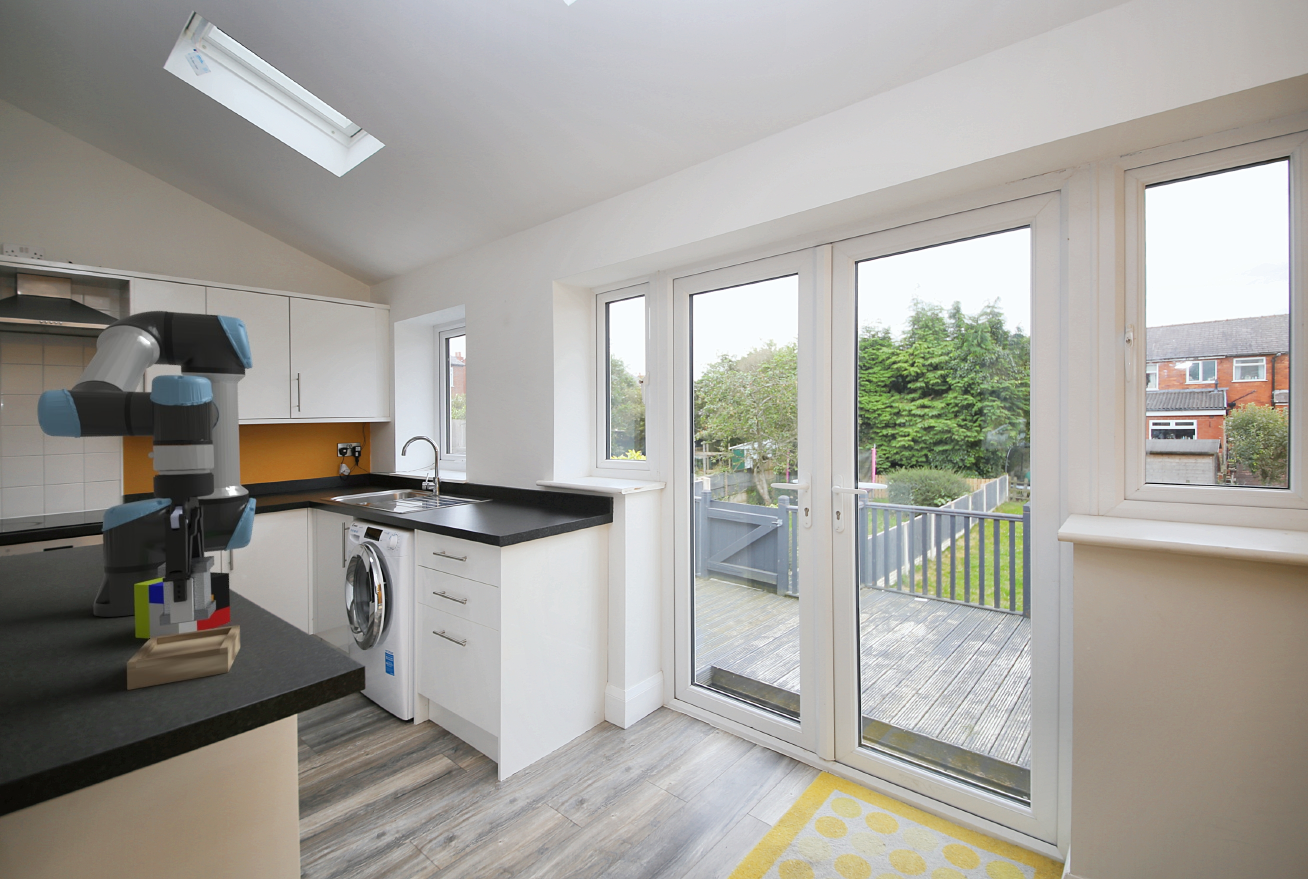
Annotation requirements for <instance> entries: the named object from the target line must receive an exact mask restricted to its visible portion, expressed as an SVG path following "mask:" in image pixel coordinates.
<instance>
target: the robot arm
mask: <svg viewBox="0 0 1308 879" xmlns="http://www.w3.org/2000/svg"><path fill="white" fill-rule="evenodd" d="M248 336H249V335H248V331H247V328H246V324H245V322H243V320H241V318H238V317H232V316H227V315H220V314H206V313H205V314H204V313H190V312H174V311H167V310H166V311H165V310H153V311H152V310H151V311H142V312H139V313H135V314H131V315H128V316H126V317H123V318H121V319H118V320H116V321H114V322H112V323H111V324H109V325H107V326H106V327H105V328H104V329H103V330H102V331H101V333H100V334H99V335H98V338H97V340H96V353H95V354H94V356H93V357H92V359H91V360H90V361H89V363H88V365H87V366H86V368H85V369H84V370H83V372H82V374H81V375H80V377H79V378H78V380H77V381H76V382H75V384H74V385H73V387H72V388H71V389H68V388H62V389H49V390H46V391H43V392H42V393H41V394H40V396H39V398H38V400H37V401H38V402H37V411H36V412H37V413H36V414H37V419H38V424H39V427H40V429H41V430H42V431H43V432H44V434H46V435H47V436H50V437H64V438H65V437H67V438H68V437H69V438H75V439H77V438H78V439H80V438H96V437H98V438H99V437H102V438H103V437H152V451H151V452H148V455H147V456H148V458H150V459H153V461H152V462H153V463H152V464H153V465H152V466H153V468H152V469H153V471H155V472H158V474H155V475H154V476H153V478H152V479H153V482H152V483H153V488H152V489H153V497H155V498H150V499H143V500H139V501H133V502H126V503H122V504H118V505H113V506H111V507H109V508H107V509H106V510H105V511H104V513H103V517H102V522H103V523H102V528H101V532H102V541H103V542H102V544H103V546H102V547H103V574H104V575H103V578H102V581H101V583H100V586H99V588H98V592H97V593H96V597H95V599H94V601H93V615H94V616H95V617H96V616H97V617H101V618H102V617H103V618H105V617H108V618H109V617H111V618H112V617H113V618H115V617H125V616H135V597H134V584H138V583H142V582H146V581H150V580H154V579H158V578H162V577H158V567H160V566H161V565H162V564H164V563H165V562H166V574H165V578H162V580H163V582H170V619H171V623H178V622H186V621H193V620H194V603H193V578H190V577H191V558H197V557H205V553H211V552H222V551H224V552H227V551H230V550H231V551H232V550H237V549H243V548H246V547H247V546H249V544H250V543H251V540H252V534H253V529H254V520H255V514H256V505H257V499H256V498H253V497H249V496H250V494H249V490H248V489H246V488H245V487H244V486H242V484H241V460H240V459H241V458H240V453H241V452H240V430H239V429H240V427H239V425H240V424H239V392H238V391H239V390H238V389H239V388H238V384H239V382H241V381H242V380H243V379H244V378H245V377H246V370H248V369H249V370H250V369H252V368H253V366H254V365H253V359H252V352H251V346H250V342H249V337H248ZM154 365H160V366H161V365H163V366H167V365H168V366H180V373H181V374H180V375H179V374H163V375H162V374H161V375H156V376H154V377H153V379H152V380H151V391H137V389H138V387H139V385H140V383H141V380H142V379H143V376H144V374H145V372H146V370H147V369H148V368H150V367H152V366H154ZM177 570H181V571H177Z"/></svg>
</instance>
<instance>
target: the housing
mask: <svg viewBox="0 0 1308 879" xmlns="http://www.w3.org/2000/svg"><path fill="white" fill-rule="evenodd" d="M213 566H215V555H208V556H204V557H197V558H191V577H190V578H193V603H194V620H193V621H198V620H205V619H209V618H210V616H211V615H212V614H213V612H214V611H215V610H216V600H213V601H211V578H210V572H211V569H212V568H213ZM177 571H181V570H177ZM165 574H166V562H165V563H164V564H162V565H161V566H160V567H158V577H163V578H165ZM163 587H164V612H163V613H162V614H161V615H160V616H159V619H160V626H163V625H170V624H177V623H171V619H170V582H163ZM186 622H191V621H186ZM178 623H184V622H178Z"/></svg>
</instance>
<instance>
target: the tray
mask: <svg viewBox="0 0 1308 879" xmlns="http://www.w3.org/2000/svg"><path fill="white" fill-rule="evenodd" d="M240 649H241V624H237V625H231V626H220V627H216V628H214V629H207V630H200V631H193V632H186V633H179V634H172V635H164V636H157V637H151V638H150V639H149V638H148V640H147V641H146V642H145V643H144V644H143V645H142V646H141V647H140V648H139V649H138V650H137V651H136V652H135V654H134V655H132V657H131V658H130V659H128V661H127V662H126V680H127V681H126V684H127V685H126V687H127V690H128V691H129V690H134V689H141V688H147V687H151V686H152V687H153V686H158V685H163V684H169V683H175V682H181V681H182V682H183V681H187V680H192V679H198V678H203V677H210V676H215V675H222V674H228V673H229V671H230V669H231V668H232V665H233V663H234V661H235V660H236V657H237V655H238V654H239V651H240Z"/></svg>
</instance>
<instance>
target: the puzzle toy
mask: <svg viewBox="0 0 1308 879" xmlns="http://www.w3.org/2000/svg"><path fill="white" fill-rule="evenodd" d="M162 578H163V577H162ZM162 578H158V579H154V580H150V581H146V582H142V583H138V584H134V597H135V615H134V627H135V630H134V631H135V637H134V638H137V639H138V638H139V639H149V638H151V637H157V636H164V635H172V634H179V633H186V632H193V631H200V630H207V629H211V628H215V627H216V628H219V627H221V626H220V625H222V626H224V625H223V624H225V625H227V624H226V623H228V622H230V623H231V606H230V604H231V603H230V602H231V600H230V596H231V594H230V572H213V571H210V578H211V601H213V600H216V610H215V611H214V612H213V614H212V615H211V616H210V618H209V619H205V620H198V621H191V622H184V623H177V624H170V625H163V626H160V619H159V616H160V615H161V614H162V613H163V612H164V587H163V580H162ZM228 624H229V623H228ZM218 626H219V627H218Z"/></svg>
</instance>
